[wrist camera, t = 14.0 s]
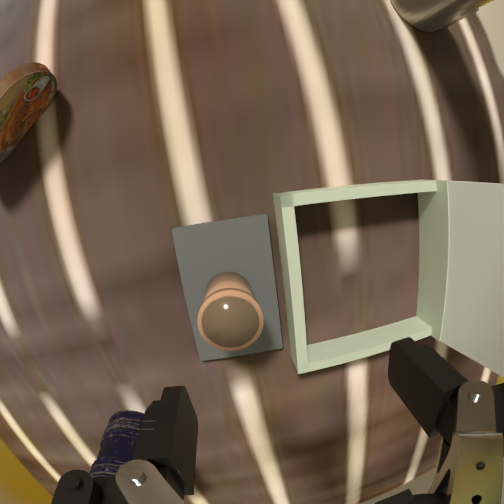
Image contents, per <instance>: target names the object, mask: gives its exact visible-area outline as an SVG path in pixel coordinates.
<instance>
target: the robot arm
mask: <svg viewBox="0 0 504 504" xmlns="http://www.w3.org/2000/svg"><path fill="white" fill-rule="evenodd" d="M491 1H493V0H391V2H392V4H393V6H394V8H395V9H396V11H397V12H398V13H399V14H400V15H401V17H402V18H404V19H405V20H406V21H407V22H408V23H409V24H411V25H412V26H414V27H415V28H417V29H419V30H421V31H424V32H434V31H436V30H438V29H440V30H443V29H445V28H446V27H448V26H450V25H452V24H454V23H456V22H457V21H459V20H461V19H463V18H465V17H467V16H469V15H471V14H473V13H475V12H477V11H478V10H479V7H480V6H483V5H485V4H487V3H489V2H491ZM388 379H389V382H390V385H391V386H392V388H393V389H394V390H395V392H396V393H397V394H398V396H399V397H400V398H401V400H402V401H403V402H404V404H405V405H406V406H407V408H408V409H409V410H410V412H411V413H412V414H413V416H414V417H415V419H416V420H417V421H418V423H419V424H420V425H421V427H422V428H423V429H424V431H425V432H426V434H427V435H428V436H429V438H430V437H432V436H434V435H436V434H438V433H440V434H441V435H442V438H441V441H440V447H439V453H438V459H437V464H436V469H435V474H434V478H433V481H432V484H431V487H430V489H429V492H428V493H427V494H417V495H412V493H411V491H410V490H409V489H407V490H405V491H403V492H401V493H398V494H396V495H394V496H391V497H389V498H386V499H384V500H381V501H378V502H377V503H375V504H500V503H501V494H502V482H503V457H504V383H502V384H498V385H495V386H490V385H489V384H487V383H486V382H483V381H480V380H471V381H468V380H466V379H465V378H464V377H463V376H462V375H461V374H460V373H459V372H458V371H457V370H456V369H455V368H454V367H452V366H451V365H450V364H449V363H447V362H446V360H445V359H444V358H443V357H441V356H440V355H439V354H438V353H437V352H436V351H435V350H434V349H432V348H430V347H427V346H425V345H420V346H419V345H418V344H417V343H416V342H415V341H414V340H413V339H412V338H411V337H406V338H403V339H400V340H398V341H395V342H392V343H391V346H390V356H389V367H388ZM197 435H198V421H197V416H196V413H195V411H194V408H193V405H192V403H191V400H190V398H189V395H188V392H187V390H186V388H185V386H175V387H165V388H164V390H163V393H162V397H161V401H153V402H152V403H151V405H150V406H149V407H148V408H147V409H146V411H145V414H144V418H143V422H142V425H141V430H140V432H139V435H138V439H137V442H136V446H135V450H134V453H133V457H132V460H131V461H129V462H127V463H125V464H123V465H122V466H121V467H120V468H119V469H118V471H117V473H116V474H115V475H111V476H106V477H100V478H92V477H91V476H90V474H88V473H87V472H85V471H83V470H72V471H69V472H67V473H65V474H64V475H63V476H62V477H61V478H60V480H59V482H58V485H57V488H56V491H55V494H54V497H53V500H52V503H51V504H186V503H185V502H184V501H183V498H184V495H194V479H195V463H196V448H197Z"/></svg>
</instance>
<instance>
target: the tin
mask: <svg viewBox="0 0 504 504" xmlns="http://www.w3.org/2000/svg"><path fill="white" fill-rule="evenodd" d="M56 90H57V81H56V78H55V76H54V75H53V74H52V73H51V72H50V70H49V69H48V68H47V67H46V66H45V65H43V64H40V63H35V62H32V63H27V64H24V65H21V66H19V67H17V68H15V69H14V70H12V71H11V72H9V73H8V74H7V75H6V76H5V77H4V78H3V79H2V80H1V81H0V163H1V162H2V161H4V160H5V159H6V158H7V157H8V156H9V155H10V154H11V153H12V151H13V150H14V149H15V147H16V146H17V144H18V143H19V142H20V140H21V139H22V138H23V136H24V135H25V134H26V133H27V131H28V130H29V129H30V127H31V126H32V125H33V124H34V123H35V121H36V120H37V119H38V118H39V117H40V115H41V114H42V113H43V112H44V111H45V110H46V109H47V107H48V106H49V105H50V103H51V102H52V100H53V98H54V96H55V93H56Z"/></svg>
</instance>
